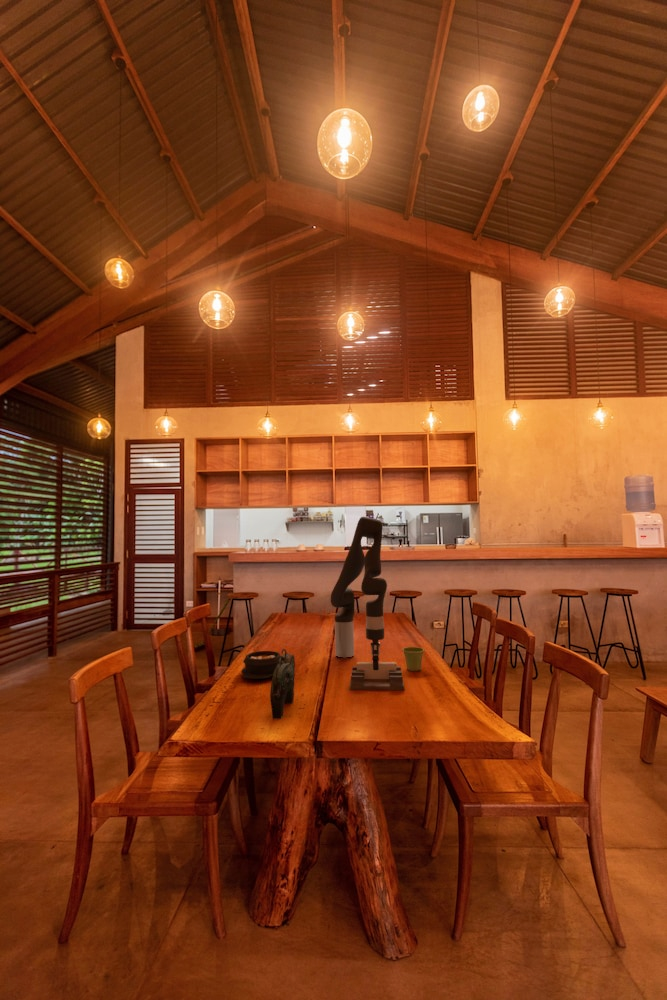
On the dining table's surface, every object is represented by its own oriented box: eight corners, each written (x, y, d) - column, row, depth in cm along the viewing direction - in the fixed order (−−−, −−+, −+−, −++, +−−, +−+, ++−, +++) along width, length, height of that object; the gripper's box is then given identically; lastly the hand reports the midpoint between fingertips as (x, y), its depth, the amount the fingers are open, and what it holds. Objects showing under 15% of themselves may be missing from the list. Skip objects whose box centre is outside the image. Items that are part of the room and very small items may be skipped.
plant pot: (425, 672, 204) (424, 652, 205) (403, 672, 206) (402, 651, 206) (424, 666, 213) (423, 647, 214) (403, 666, 215) (402, 646, 215)
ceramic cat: (282, 698, 176) (282, 643, 177) (299, 699, 175) (299, 643, 176) (266, 719, 157) (266, 657, 158) (285, 720, 156) (285, 658, 157)
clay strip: (357, 676, 195) (357, 661, 196) (396, 676, 194) (395, 662, 195) (357, 678, 193) (356, 663, 193) (396, 678, 192) (396, 663, 192)
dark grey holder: (351, 678, 198) (351, 666, 198) (402, 679, 196) (401, 666, 196) (349, 689, 184) (349, 676, 184) (404, 690, 182) (404, 676, 183)
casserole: (275, 684, 193) (274, 663, 194) (231, 682, 196) (231, 662, 197) (291, 666, 218) (290, 648, 218) (252, 665, 221) (252, 647, 221)
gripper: (384, 630, 188) (385, 672, 187) (383, 623, 202) (384, 662, 201) (365, 630, 188) (366, 672, 187) (366, 623, 202) (367, 662, 201)
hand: (375, 666), depth 194 cm, fingers open, 8 cm apart
